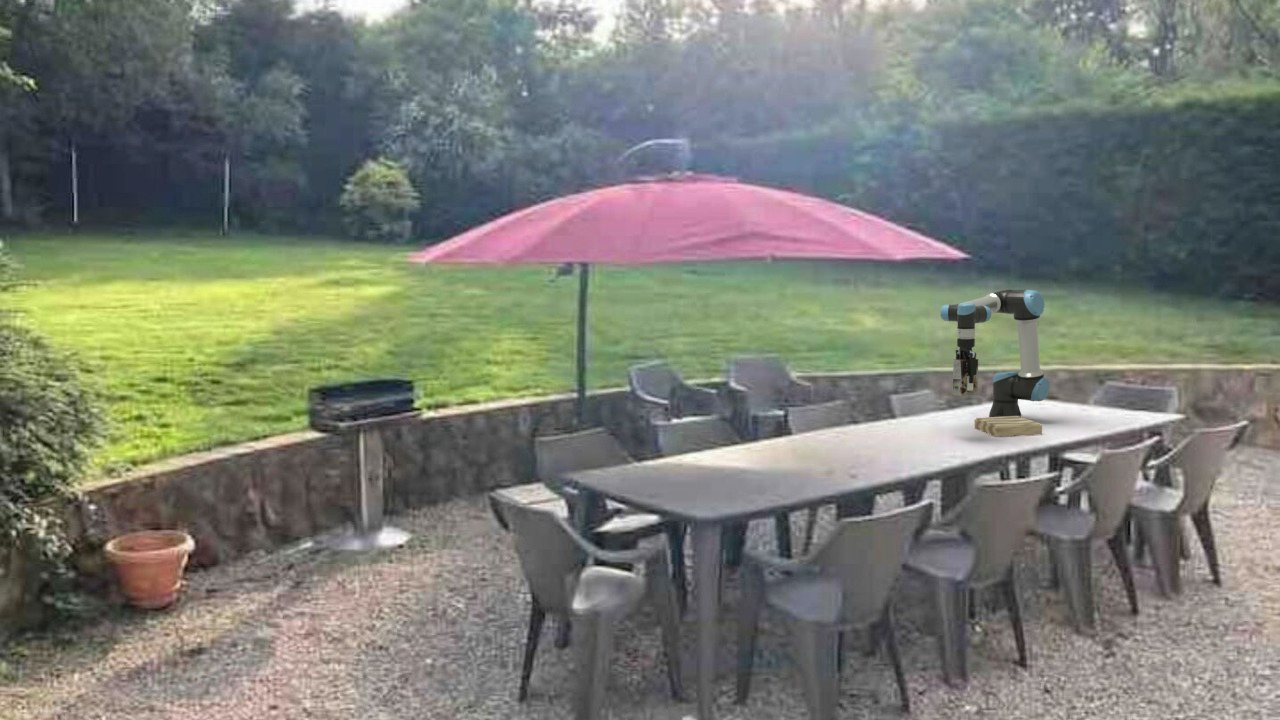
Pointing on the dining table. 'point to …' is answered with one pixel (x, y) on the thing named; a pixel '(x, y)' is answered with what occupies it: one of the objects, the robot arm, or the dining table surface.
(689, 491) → the dining table surface
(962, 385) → the coffee box
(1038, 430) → the stand
